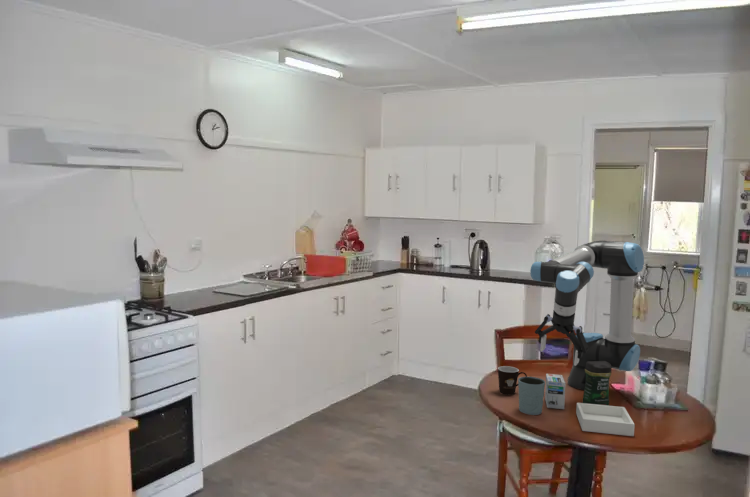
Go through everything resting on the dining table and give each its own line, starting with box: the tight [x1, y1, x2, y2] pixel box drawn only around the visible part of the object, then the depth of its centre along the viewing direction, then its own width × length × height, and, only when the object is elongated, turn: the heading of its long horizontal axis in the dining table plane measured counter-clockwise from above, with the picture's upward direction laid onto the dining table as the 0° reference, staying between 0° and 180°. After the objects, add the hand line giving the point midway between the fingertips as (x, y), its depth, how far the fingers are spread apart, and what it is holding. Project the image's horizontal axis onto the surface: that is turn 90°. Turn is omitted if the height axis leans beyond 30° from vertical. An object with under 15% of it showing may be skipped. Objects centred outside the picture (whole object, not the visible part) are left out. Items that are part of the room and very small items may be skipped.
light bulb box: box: [544, 373, 566, 410], centre depth 231 cm, size 11×7×11 cm, turn 168°
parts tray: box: [575, 402, 636, 437], centre depth 211 cm, size 17×17×4 cm
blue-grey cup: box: [517, 376, 546, 416], centre depth 223 cm, size 10×10×12 cm
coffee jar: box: [581, 361, 612, 406], centre depth 228 cm, size 10×8×19 cm
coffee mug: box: [497, 365, 528, 396], centre depth 242 cm, size 12×9×10 cm
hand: (559, 356), depth 220 cm, fingers open, 13 cm apart
